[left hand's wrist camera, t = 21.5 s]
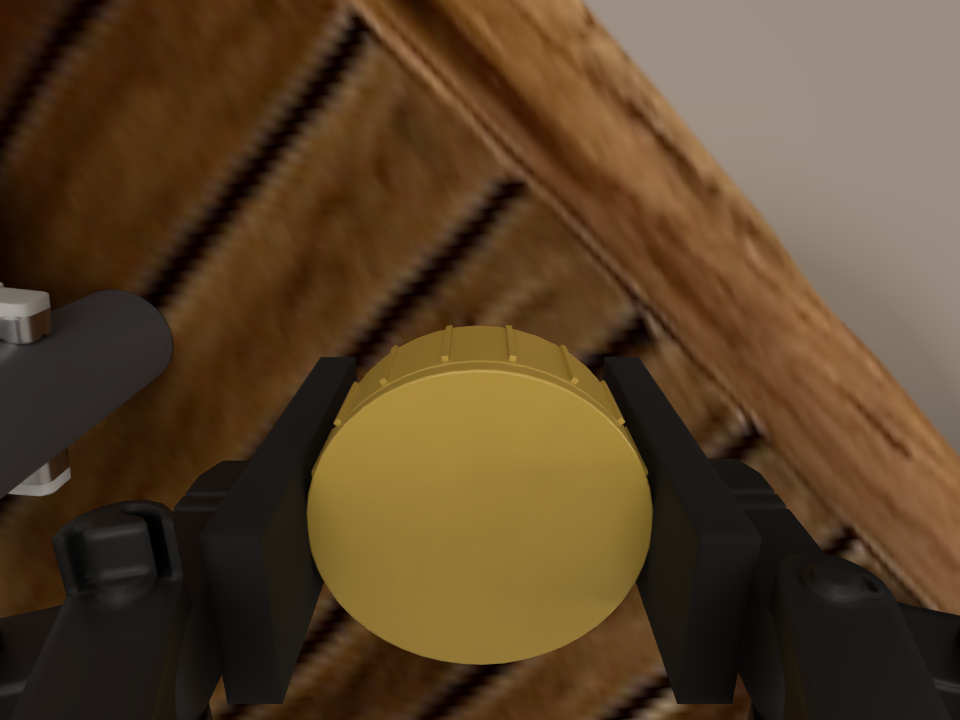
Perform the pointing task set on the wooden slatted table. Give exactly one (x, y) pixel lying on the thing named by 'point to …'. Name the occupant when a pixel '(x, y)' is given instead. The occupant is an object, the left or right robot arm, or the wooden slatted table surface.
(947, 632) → the left robot arm
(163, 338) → the jar
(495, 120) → the wooden slatted table surface
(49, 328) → the right robot arm
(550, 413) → the lid
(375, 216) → the wooden slatted table surface
